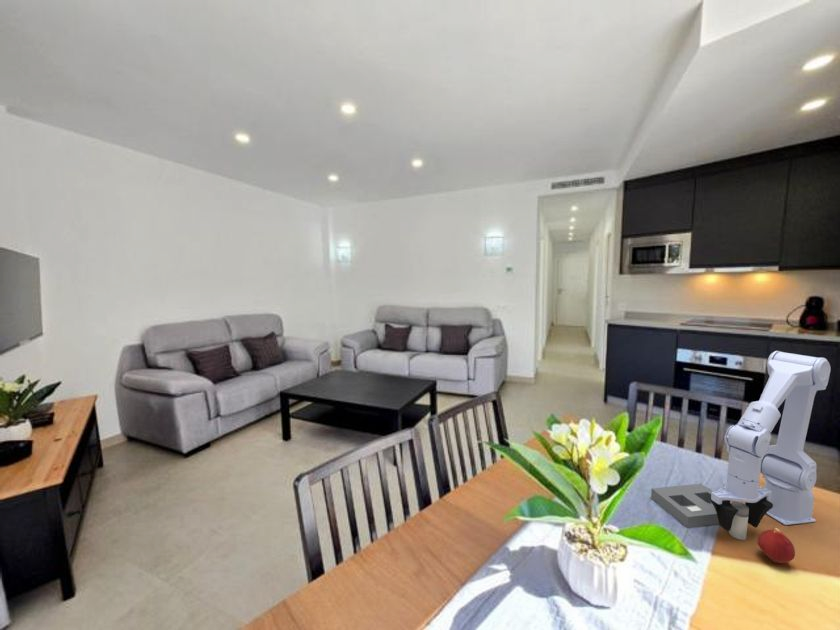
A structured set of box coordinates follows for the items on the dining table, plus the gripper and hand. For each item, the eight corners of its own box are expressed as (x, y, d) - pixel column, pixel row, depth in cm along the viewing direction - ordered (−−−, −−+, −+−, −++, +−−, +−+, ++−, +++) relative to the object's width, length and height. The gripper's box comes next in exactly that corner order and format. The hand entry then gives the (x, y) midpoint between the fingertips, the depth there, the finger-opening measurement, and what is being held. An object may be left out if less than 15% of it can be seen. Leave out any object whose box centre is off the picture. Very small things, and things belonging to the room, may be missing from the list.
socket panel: (700, 493, 103) (701, 482, 103) (742, 521, 91) (743, 509, 91) (650, 498, 101) (651, 487, 101) (687, 527, 89) (688, 515, 89)
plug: (736, 529, 88) (739, 500, 87) (749, 539, 85) (752, 509, 84) (725, 531, 88) (728, 501, 87) (738, 540, 85) (741, 510, 84)
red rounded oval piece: (782, 554, 80) (786, 522, 79) (800, 575, 75) (804, 541, 74) (751, 548, 82) (754, 517, 81) (765, 568, 77) (769, 535, 76)
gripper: (751, 463, 89) (747, 512, 91) (701, 468, 88) (697, 518, 89) (783, 479, 82) (777, 532, 84) (729, 485, 81) (724, 538, 82)
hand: (738, 526), depth 86 cm, fingers open, 7 cm apart
